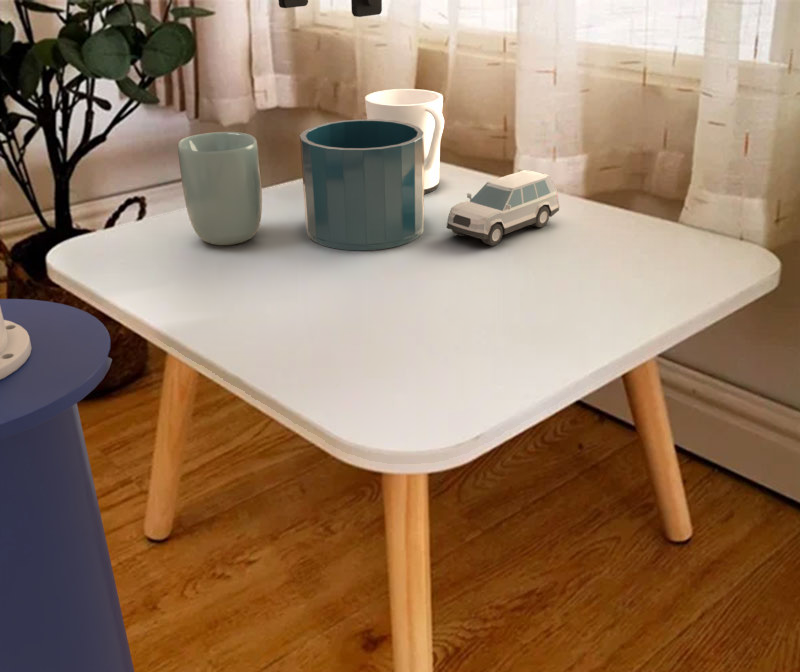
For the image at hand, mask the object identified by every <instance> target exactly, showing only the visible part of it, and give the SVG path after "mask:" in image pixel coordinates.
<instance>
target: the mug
mask: <svg viewBox="0 0 800 672" xmlns="http://www.w3.org/2000/svg"><path fill="white" fill-rule="evenodd" d="M364 101H365V102H364V103H365V111H366V119H378V120H390V121H398V122H403V123H408V124H412V125H414V126H417V127H419V128H420V129H421V130H422V131H423V132H424V195H426V194H429V193H432V192H434V191H436V190H437V189H438V186H439V184H440V164H441V163H440V162H441V158H440V157H441V140H442V136H443V132H444V128H445V118H444V115H443V105H444V96H443V94H442V93H440V92H437V91H433V90H429V89H420V88H419V89H418V88H395V89H394V88H393V89H384V90H378V91H374V92H371V93H368V94H367V95H365V96H364Z"/></svg>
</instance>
